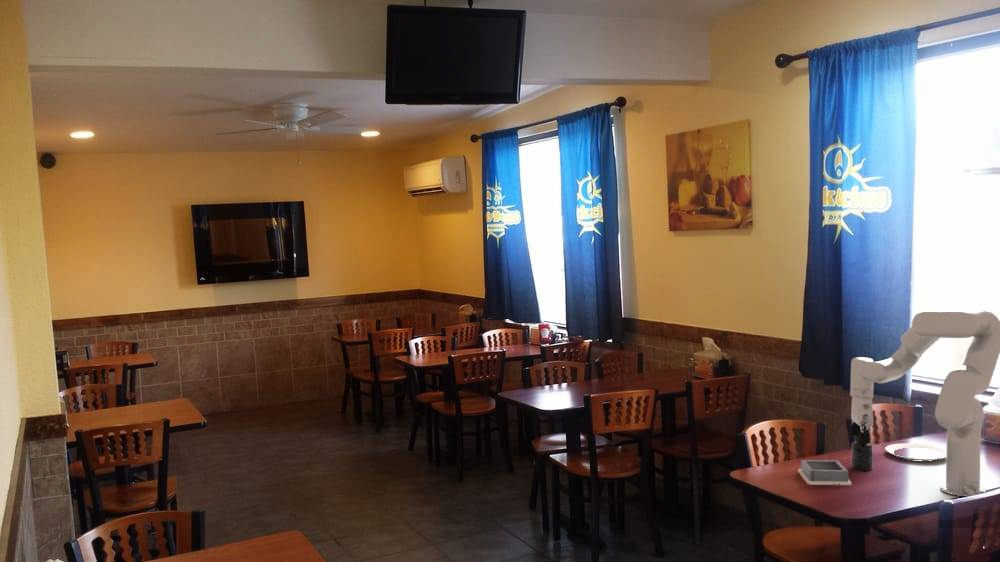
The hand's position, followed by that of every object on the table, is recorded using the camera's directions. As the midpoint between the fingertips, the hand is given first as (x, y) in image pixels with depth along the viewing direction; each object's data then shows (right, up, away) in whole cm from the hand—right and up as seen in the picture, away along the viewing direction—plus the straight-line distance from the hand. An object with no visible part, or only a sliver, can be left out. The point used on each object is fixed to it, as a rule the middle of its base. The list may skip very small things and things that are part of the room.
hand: (860, 439), depth 288 cm
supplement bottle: (+1, -11, 0) cm, 11 cm away
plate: (+27, -9, +13) cm, 31 cm away
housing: (-17, -12, -9) cm, 22 cm away
